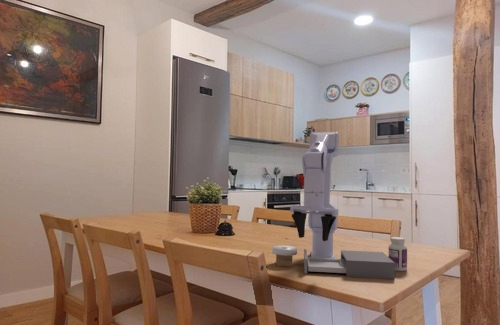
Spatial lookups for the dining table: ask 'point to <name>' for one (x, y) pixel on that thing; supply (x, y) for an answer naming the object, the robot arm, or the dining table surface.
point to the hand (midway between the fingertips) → (313, 238)
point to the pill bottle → (398, 253)
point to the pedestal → (283, 260)
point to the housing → (368, 264)
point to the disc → (284, 250)
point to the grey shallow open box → (324, 264)
